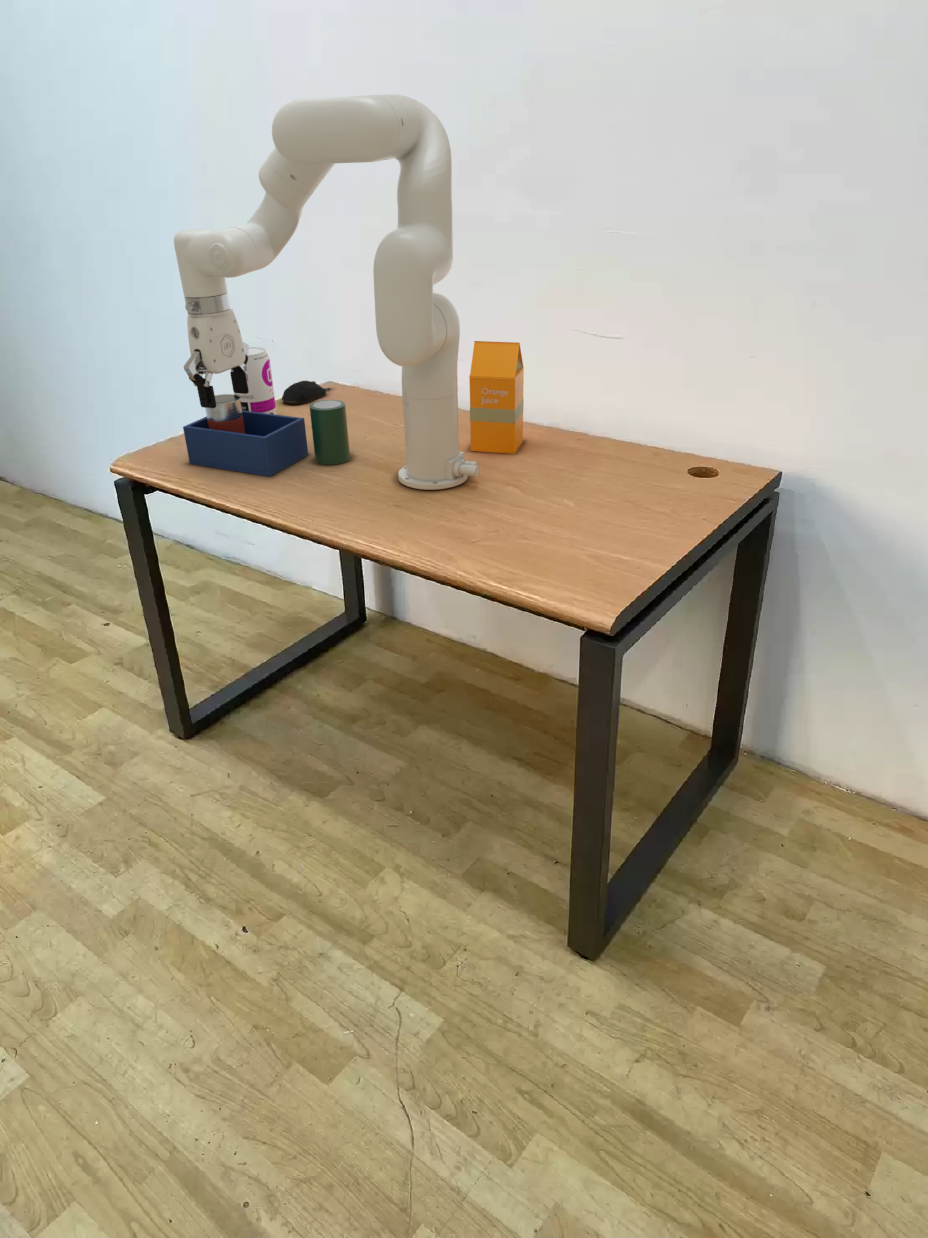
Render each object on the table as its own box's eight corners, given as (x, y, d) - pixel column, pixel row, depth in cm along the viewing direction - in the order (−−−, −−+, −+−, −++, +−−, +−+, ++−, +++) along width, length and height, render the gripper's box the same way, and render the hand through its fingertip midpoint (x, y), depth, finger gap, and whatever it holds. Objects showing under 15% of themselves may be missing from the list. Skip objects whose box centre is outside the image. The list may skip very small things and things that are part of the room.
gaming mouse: (340, 391, 213) (338, 374, 211) (296, 407, 202) (294, 389, 200) (320, 387, 216) (318, 370, 214) (276, 403, 205) (274, 385, 203)
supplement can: (281, 416, 196) (273, 346, 189) (271, 428, 189) (261, 356, 182) (245, 416, 197) (235, 346, 190) (233, 428, 190) (222, 356, 183)
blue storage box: (308, 454, 174) (304, 417, 171) (270, 476, 165) (265, 438, 161) (230, 443, 181) (225, 407, 178) (189, 463, 171) (182, 426, 168)
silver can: (255, 449, 176) (247, 395, 170) (234, 460, 170) (225, 405, 165) (227, 445, 178) (219, 392, 173) (205, 455, 173) (196, 401, 168)
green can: (356, 455, 173) (351, 401, 168) (338, 466, 168) (333, 411, 163) (327, 451, 176) (321, 397, 171) (308, 462, 171) (302, 407, 165)
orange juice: (515, 454, 172) (515, 347, 162) (470, 451, 174) (468, 345, 164) (523, 440, 178) (524, 337, 168) (480, 438, 181) (478, 336, 171)
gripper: (192, 315, 152) (212, 414, 161) (254, 296, 166) (269, 389, 174) (158, 313, 155) (179, 411, 163) (221, 295, 169) (237, 386, 177)
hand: (225, 399), depth 169 cm, fingers open, 9 cm apart
